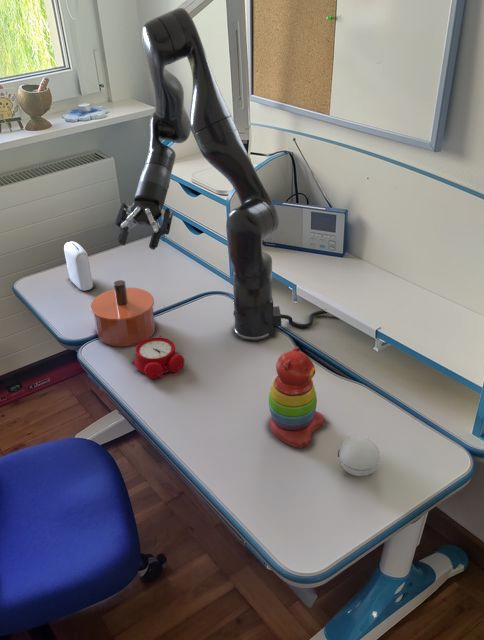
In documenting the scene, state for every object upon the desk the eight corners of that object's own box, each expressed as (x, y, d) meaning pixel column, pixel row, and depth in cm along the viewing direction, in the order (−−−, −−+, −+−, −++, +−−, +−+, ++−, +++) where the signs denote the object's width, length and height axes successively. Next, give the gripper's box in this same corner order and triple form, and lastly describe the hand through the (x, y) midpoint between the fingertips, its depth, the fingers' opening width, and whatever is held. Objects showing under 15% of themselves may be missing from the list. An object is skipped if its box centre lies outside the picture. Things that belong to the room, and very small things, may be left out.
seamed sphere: (354, 451, 126) (357, 421, 122) (386, 471, 121) (390, 441, 117) (319, 476, 121) (320, 447, 117) (351, 498, 116) (353, 468, 112)
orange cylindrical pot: (145, 310, 175) (142, 285, 171) (162, 337, 163) (159, 311, 159) (91, 323, 171) (87, 298, 167) (105, 351, 159) (100, 325, 155)
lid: (143, 286, 171) (140, 263, 168) (162, 313, 159) (159, 289, 156) (85, 300, 167) (80, 276, 163) (99, 329, 155) (95, 304, 151)
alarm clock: (165, 330, 159) (189, 347, 146) (169, 354, 161) (194, 373, 148) (124, 342, 155) (146, 361, 142) (129, 366, 158) (151, 387, 145)
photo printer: (67, 279, 192) (60, 240, 185) (81, 275, 194) (74, 236, 187) (81, 292, 185) (73, 252, 178) (95, 288, 187) (88, 248, 180)
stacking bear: (305, 451, 127) (307, 376, 117) (258, 434, 131) (257, 361, 122) (327, 419, 134) (332, 346, 124) (283, 404, 139) (284, 333, 129)
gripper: (122, 176, 165) (105, 237, 163) (173, 182, 160) (156, 244, 158) (134, 189, 172) (118, 248, 170) (184, 195, 167) (167, 255, 165)
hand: (136, 246), depth 164 cm, fingers open, 8 cm apart
